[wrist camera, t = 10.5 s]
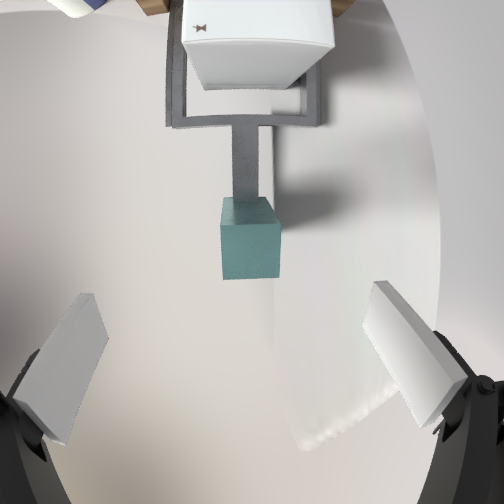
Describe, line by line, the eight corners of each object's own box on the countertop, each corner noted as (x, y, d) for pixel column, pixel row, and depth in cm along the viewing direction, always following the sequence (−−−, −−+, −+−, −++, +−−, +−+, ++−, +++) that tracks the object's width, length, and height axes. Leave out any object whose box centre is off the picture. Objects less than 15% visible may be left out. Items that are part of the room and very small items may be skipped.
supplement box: (288, 91, 25) (340, 51, 12) (203, 91, 25) (176, 46, 11) (286, 22, 22) (327, -49, 8) (204, 21, 21) (187, -56, 7)
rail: (180, -55, 15) (179, -57, 14) (307, -53, 16) (308, -55, 16) (166, 126, 26) (165, 126, 25) (319, 125, 27) (320, 125, 26)
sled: (180, 16, 20) (161, -27, 11) (306, 17, 21) (336, -23, 12) (183, 238, 31) (165, 281, 21) (305, 234, 32) (334, 274, 22)
